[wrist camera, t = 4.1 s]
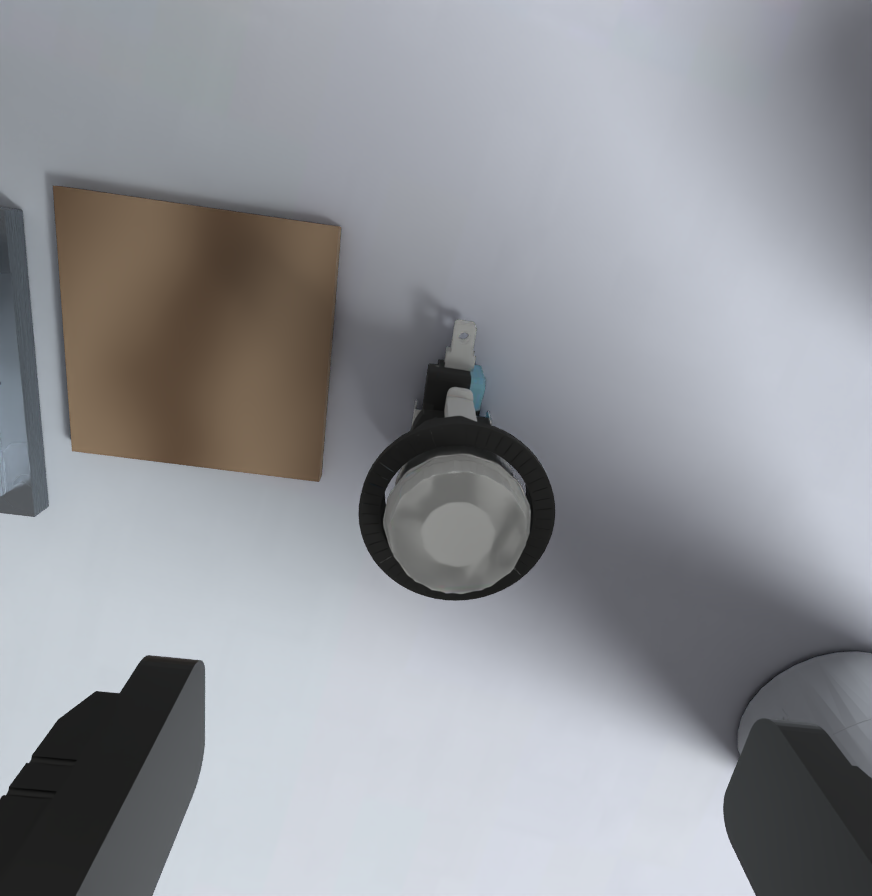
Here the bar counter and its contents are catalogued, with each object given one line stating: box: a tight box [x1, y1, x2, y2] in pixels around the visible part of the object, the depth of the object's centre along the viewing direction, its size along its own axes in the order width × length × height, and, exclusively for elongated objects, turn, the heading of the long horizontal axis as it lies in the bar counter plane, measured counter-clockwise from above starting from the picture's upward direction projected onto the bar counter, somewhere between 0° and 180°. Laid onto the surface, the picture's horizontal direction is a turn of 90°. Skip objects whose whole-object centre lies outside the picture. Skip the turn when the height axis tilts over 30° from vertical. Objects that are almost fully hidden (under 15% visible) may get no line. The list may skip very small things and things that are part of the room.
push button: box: [359, 319, 555, 600], centre depth 20 cm, size 7×5×10 cm
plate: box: [53, 186, 341, 482], centre depth 24 cm, size 10×10×1 cm
